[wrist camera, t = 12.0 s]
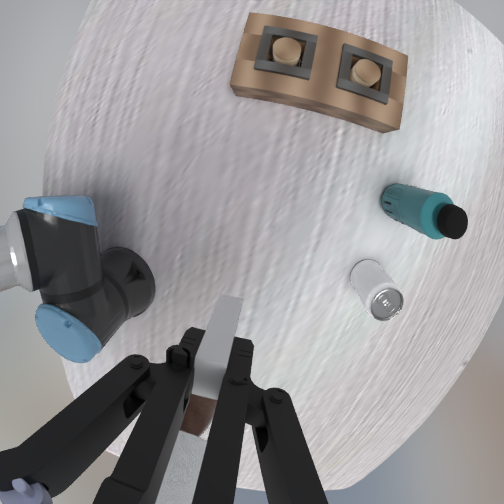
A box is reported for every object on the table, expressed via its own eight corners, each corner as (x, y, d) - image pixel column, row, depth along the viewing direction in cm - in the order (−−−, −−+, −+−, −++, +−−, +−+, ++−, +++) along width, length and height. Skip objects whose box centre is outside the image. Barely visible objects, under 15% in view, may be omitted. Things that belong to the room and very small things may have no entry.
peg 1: (271, 73, 38) (270, 56, 30) (275, 54, 36) (275, 35, 29) (294, 78, 38) (298, 62, 30) (299, 59, 36) (303, 40, 29)
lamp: (158, 359, 59) (92, 484, 24) (234, 366, 57) (201, 518, 22) (174, 407, 65) (133, 515, 30) (240, 414, 63) (219, 536, 28)
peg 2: (341, 90, 37) (353, 77, 30) (344, 71, 36) (356, 55, 29) (363, 97, 37) (379, 86, 30) (366, 78, 36) (381, 64, 29)
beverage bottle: (371, 195, 43) (429, 217, 24) (397, 174, 42) (465, 185, 23) (389, 224, 45) (448, 262, 26) (414, 204, 43) (481, 230, 24)
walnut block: (236, 95, 40) (228, 82, 33) (253, 30, 36) (248, 9, 28) (383, 133, 40) (402, 128, 32) (392, 67, 35) (410, 54, 28)
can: (368, 251, 47) (392, 277, 35) (386, 274, 48) (412, 303, 36) (343, 275, 48) (360, 306, 37) (362, 296, 49) (381, 330, 38)
